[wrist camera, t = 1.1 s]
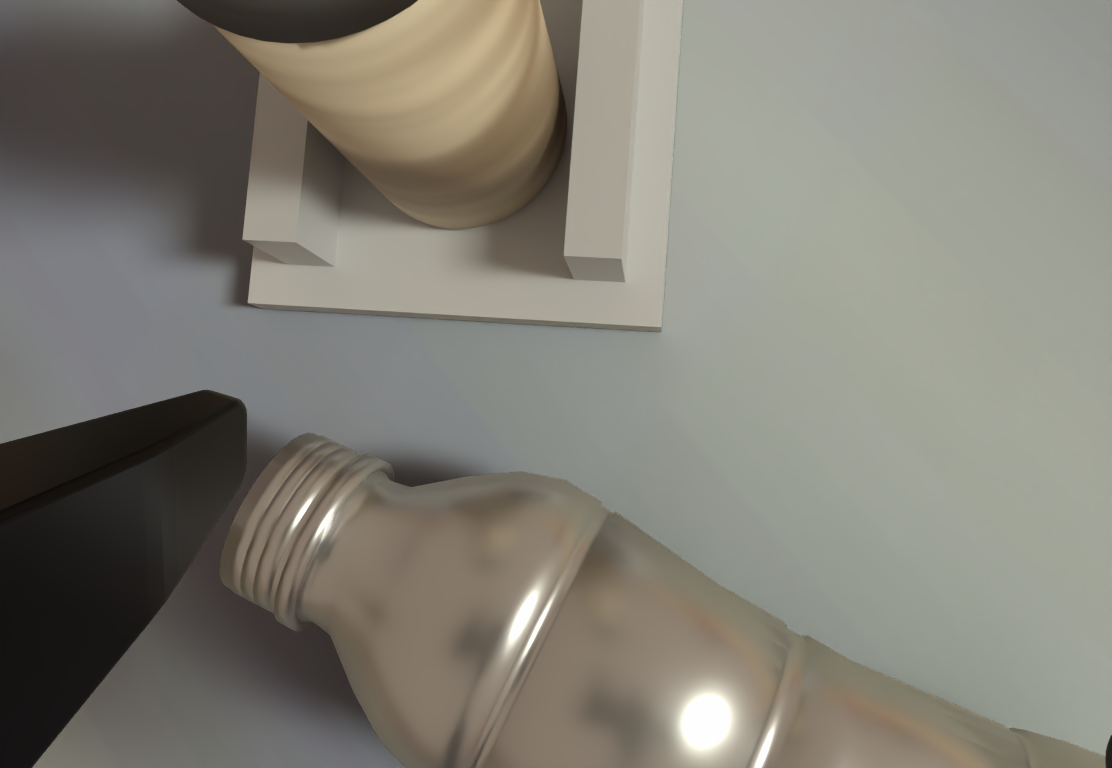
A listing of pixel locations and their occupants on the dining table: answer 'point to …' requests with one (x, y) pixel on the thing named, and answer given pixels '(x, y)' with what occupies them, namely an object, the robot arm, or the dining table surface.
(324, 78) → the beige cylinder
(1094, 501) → the dining table surface
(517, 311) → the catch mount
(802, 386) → the dining table surface
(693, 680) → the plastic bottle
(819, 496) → the dining table surface
